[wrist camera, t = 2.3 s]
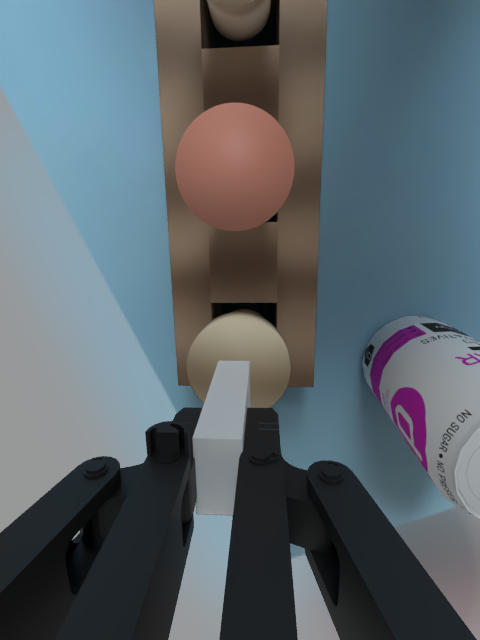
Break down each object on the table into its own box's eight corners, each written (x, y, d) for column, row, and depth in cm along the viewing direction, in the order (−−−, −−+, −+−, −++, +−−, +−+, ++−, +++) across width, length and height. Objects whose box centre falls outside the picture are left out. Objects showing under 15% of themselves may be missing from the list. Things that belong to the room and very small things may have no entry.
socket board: (174, -11, 26) (148, -80, 20) (315, -19, 25) (330, -94, 19) (193, 357, 33) (178, 385, 27) (304, 358, 32) (313, 386, 26)
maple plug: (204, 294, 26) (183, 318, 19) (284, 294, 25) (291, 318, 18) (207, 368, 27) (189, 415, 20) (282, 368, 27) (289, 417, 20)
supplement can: (368, 409, 33) (451, 551, 18) (353, 324, 31) (432, 409, 16) (460, 392, 32) (625, 528, 17) (450, 303, 30) (626, 374, 16)
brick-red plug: (198, 141, 23) (171, 105, 16) (286, 138, 23) (295, 100, 16) (202, 231, 24) (178, 231, 18) (284, 229, 24) (293, 229, 17)
